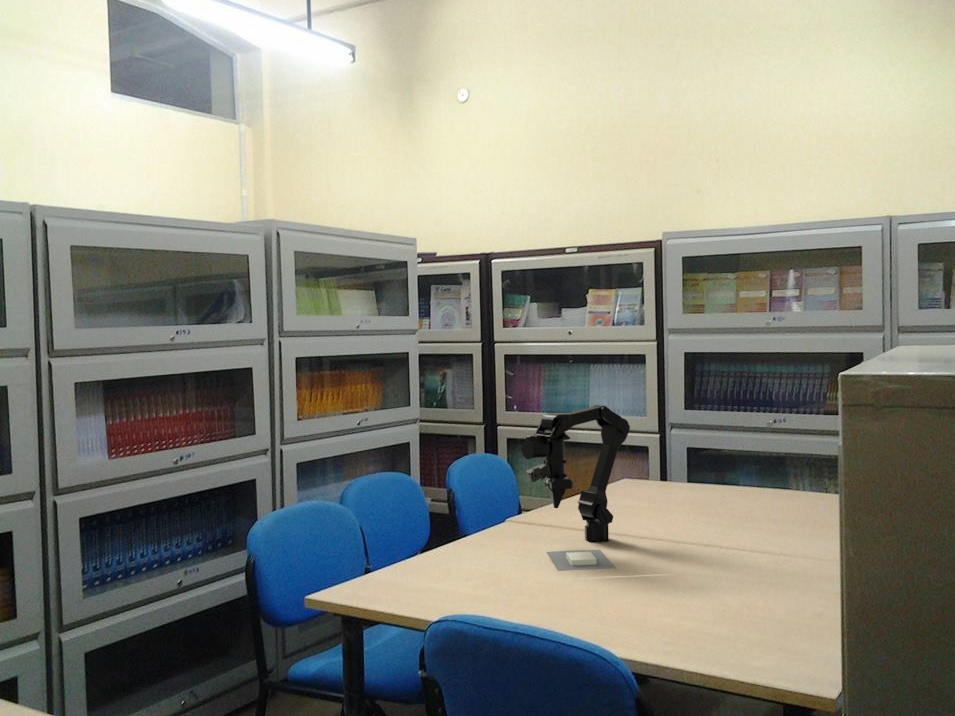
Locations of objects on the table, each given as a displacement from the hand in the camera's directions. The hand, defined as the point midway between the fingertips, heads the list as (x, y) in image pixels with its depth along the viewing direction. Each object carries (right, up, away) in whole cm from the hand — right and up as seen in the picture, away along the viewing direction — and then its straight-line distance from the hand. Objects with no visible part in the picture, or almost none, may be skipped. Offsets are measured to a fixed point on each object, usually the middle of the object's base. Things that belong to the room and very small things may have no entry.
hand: (556, 507), depth 257 cm
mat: (+6, -13, -13) cm, 19 cm away
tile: (+5, -12, -11) cm, 17 cm away
